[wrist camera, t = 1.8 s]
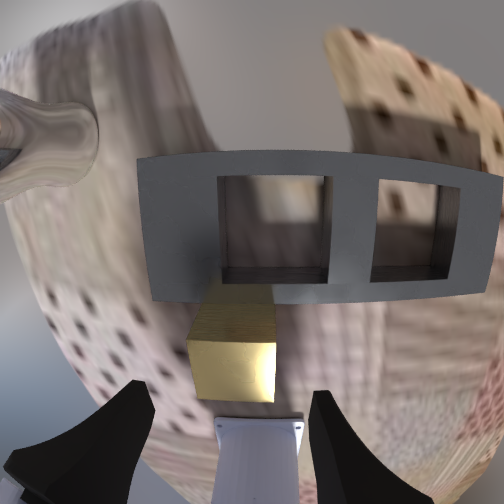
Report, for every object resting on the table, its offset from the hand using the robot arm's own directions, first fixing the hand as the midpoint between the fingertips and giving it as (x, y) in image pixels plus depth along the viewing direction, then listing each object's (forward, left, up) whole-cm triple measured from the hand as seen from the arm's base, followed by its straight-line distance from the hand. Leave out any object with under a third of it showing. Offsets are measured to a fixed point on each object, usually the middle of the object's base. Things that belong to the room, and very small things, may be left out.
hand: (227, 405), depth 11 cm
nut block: (0, 0, -8) cm, 8 cm away
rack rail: (+6, -6, -8) cm, 12 cm away
